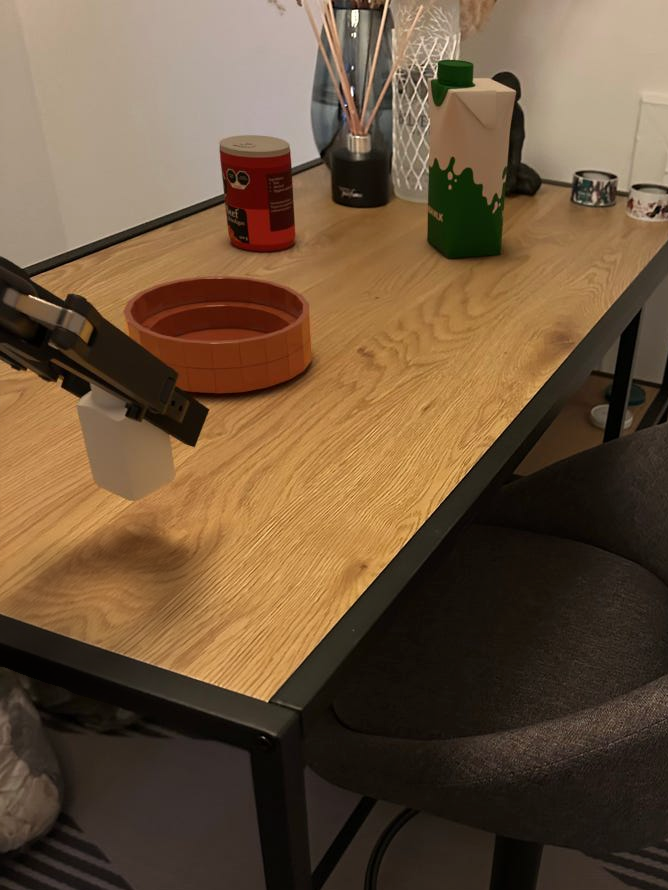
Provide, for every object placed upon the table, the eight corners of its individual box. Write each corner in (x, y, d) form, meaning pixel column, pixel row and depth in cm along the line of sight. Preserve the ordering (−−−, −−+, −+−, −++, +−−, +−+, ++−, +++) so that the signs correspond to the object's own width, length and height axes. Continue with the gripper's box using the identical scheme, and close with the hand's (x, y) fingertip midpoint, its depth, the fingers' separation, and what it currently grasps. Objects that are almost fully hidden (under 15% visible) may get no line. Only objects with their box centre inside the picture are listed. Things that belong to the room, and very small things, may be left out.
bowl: (94, 370, 84) (83, 316, 81) (209, 314, 96) (203, 264, 93) (243, 415, 80) (237, 359, 76) (344, 350, 91) (343, 298, 88)
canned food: (227, 233, 116) (216, 134, 109) (292, 231, 118) (286, 134, 111) (231, 253, 110) (220, 151, 103) (299, 251, 112) (293, 151, 105)
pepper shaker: (90, 487, 61) (58, 347, 55) (137, 463, 64) (111, 326, 58) (135, 507, 60) (106, 366, 54) (180, 481, 62) (158, 344, 56)
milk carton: (417, 239, 119) (421, 55, 106) (482, 234, 122) (493, 55, 109) (444, 262, 113) (451, 70, 100) (511, 256, 116) (526, 69, 103)
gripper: (-313, 256, 42) (47, 436, 65) (-29, 344, 37) (255, 506, 60) (-250, 105, 43) (86, 336, 65) (40, 173, 38) (296, 397, 60)
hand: (166, 417), depth 62 cm, fingers closed on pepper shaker, 4 cm apart
